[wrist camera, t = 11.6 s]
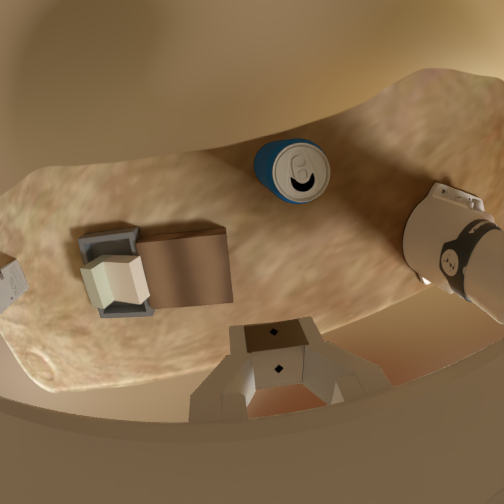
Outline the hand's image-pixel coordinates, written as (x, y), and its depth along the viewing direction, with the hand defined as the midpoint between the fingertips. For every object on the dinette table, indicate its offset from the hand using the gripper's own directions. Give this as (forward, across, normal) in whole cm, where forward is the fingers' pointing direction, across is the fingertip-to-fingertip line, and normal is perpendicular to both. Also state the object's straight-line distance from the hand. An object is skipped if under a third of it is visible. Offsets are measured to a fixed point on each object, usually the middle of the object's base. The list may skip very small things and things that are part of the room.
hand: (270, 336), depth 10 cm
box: (+29, +18, +9) cm, 35 cm away
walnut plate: (+29, +7, +9) cm, 31 cm away
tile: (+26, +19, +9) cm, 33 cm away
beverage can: (+29, -6, -4) cm, 30 cm away
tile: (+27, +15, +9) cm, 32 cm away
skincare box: (+29, +41, +8) cm, 51 cm away
